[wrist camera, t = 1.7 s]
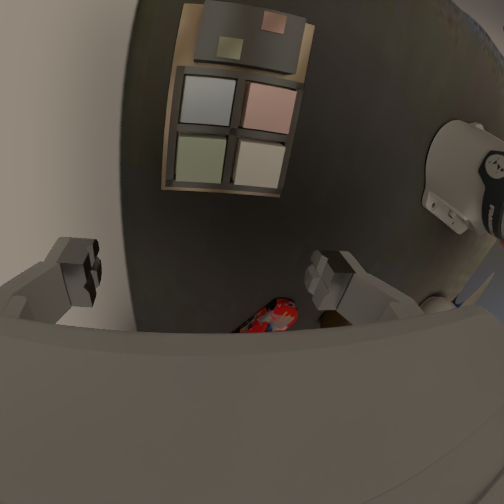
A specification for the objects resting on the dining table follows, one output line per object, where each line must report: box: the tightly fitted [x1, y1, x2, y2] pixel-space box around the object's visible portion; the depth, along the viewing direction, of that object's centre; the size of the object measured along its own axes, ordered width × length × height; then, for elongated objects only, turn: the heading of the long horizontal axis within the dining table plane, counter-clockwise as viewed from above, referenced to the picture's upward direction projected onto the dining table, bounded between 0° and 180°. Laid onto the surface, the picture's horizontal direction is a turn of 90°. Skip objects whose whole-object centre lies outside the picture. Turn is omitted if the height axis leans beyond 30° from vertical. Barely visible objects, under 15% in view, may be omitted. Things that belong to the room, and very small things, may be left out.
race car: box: [232, 299, 298, 333], centre depth 42 cm, size 13×5×4 cm, turn 133°
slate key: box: [181, 76, 236, 126], centre depth 21 cm, size 4×4×2 cm
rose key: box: [240, 83, 297, 134], centre depth 23 cm, size 4×4×2 cm
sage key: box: [176, 133, 226, 184], centre depth 24 cm, size 4×4×2 cm
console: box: [161, 0, 315, 197], centre depth 23 cm, size 13×20×4 cm, turn 171°
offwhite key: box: [232, 138, 286, 188], centre depth 26 cm, size 4×4×2 cm
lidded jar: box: [420, 297, 457, 315], centre depth 49 cm, size 11×11×9 cm
